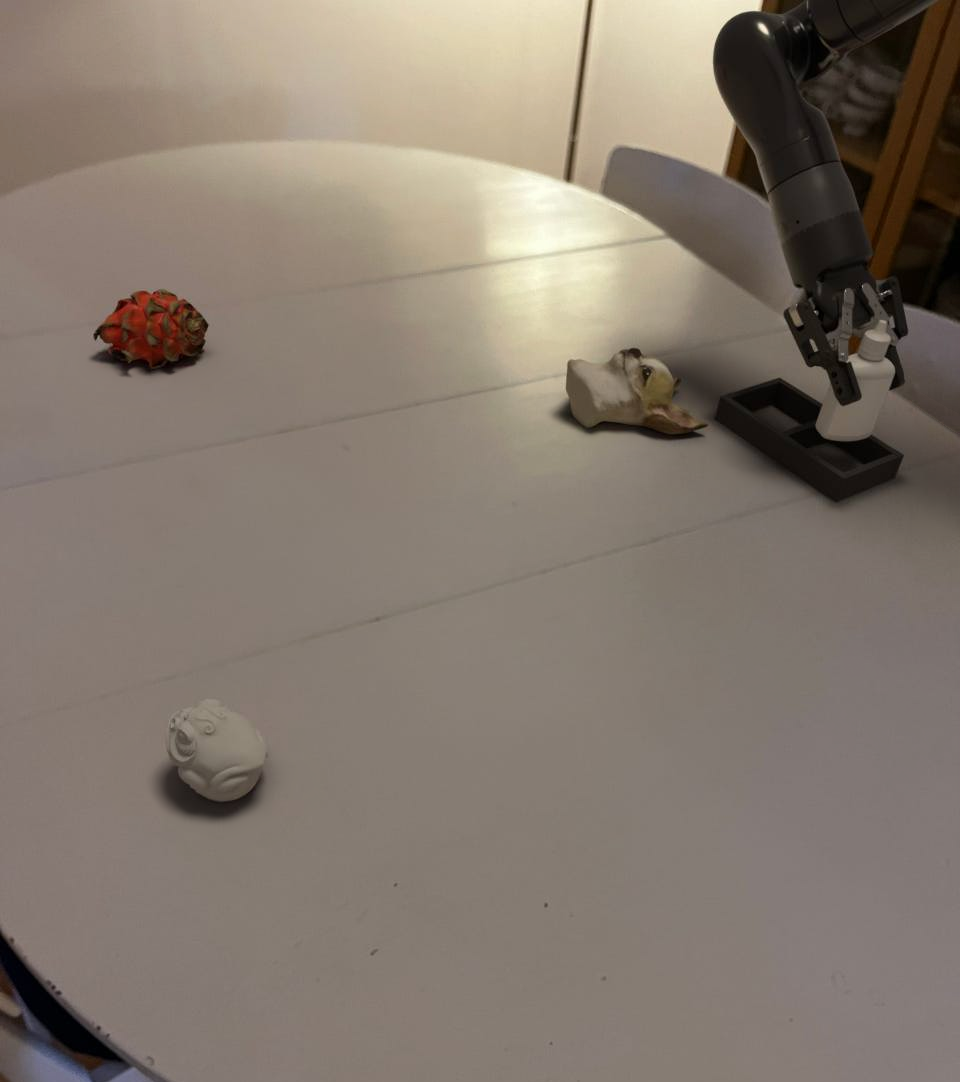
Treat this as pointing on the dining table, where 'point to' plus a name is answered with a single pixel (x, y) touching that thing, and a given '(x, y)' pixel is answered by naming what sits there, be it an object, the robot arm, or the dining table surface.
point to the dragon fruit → (153, 328)
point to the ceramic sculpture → (627, 393)
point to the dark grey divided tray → (805, 440)
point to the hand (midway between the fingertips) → (873, 395)
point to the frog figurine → (215, 750)
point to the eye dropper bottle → (874, 388)
